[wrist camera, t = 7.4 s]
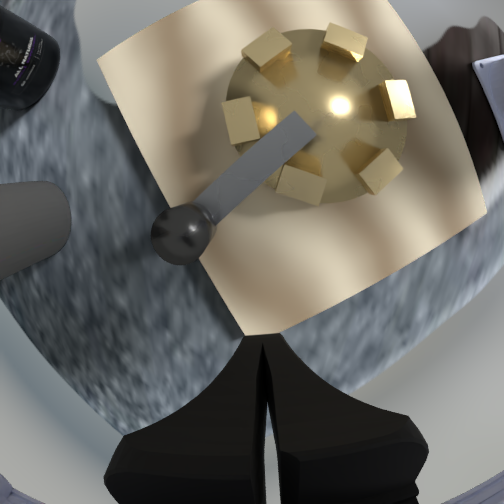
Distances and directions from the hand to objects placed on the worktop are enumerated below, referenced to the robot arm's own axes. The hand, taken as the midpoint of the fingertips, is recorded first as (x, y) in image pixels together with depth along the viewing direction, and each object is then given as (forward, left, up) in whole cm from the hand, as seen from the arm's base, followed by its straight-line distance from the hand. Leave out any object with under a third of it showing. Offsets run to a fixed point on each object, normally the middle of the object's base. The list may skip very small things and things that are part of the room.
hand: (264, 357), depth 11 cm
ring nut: (-5, -7, -8) cm, 12 cm away
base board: (-8, -7, -10) cm, 14 cm away
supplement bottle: (+9, -23, -10) cm, 27 cm away
